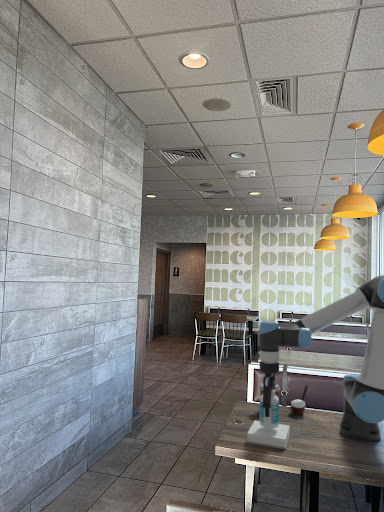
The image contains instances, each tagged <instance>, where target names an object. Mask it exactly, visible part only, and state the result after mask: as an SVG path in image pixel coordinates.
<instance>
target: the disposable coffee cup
mask: <svg viewBox="0 0 384 512" xmlns="http://www.w3.org/2000/svg"><path fill="white" fill-rule="evenodd" d="M258 388H259V391H260V396H261V395H263V382H261V383H260V384H259V386H258ZM280 390H281V388H280V385H279V384H278V383H275V391H276V394H275V395H276V396H277V397H278V398H279V392H280Z"/></svg>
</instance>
